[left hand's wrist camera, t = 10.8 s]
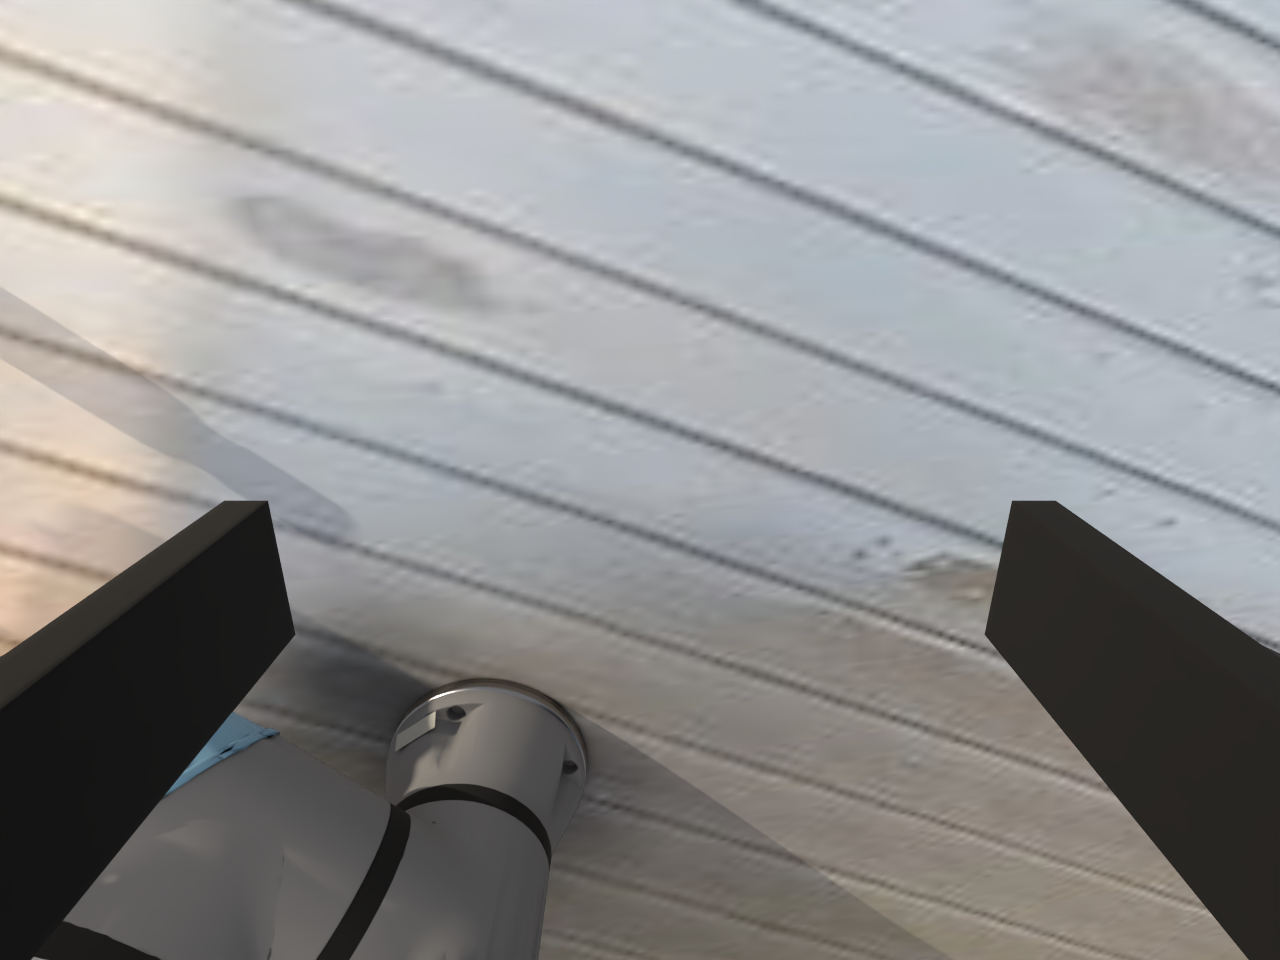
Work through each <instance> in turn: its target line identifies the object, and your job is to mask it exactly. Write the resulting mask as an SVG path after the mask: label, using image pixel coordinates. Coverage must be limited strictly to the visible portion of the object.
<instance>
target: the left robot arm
mask: <svg viewBox="0 0 1280 960" xmlns="http://www.w3.org/2000/svg"><path fill="white" fill-rule="evenodd" d="M294 635H295V631H294V626H293V621H292V616H291V611H290V606H289V602H288V597H287V592H286V587H285V582H284V577H283V572H282V567H281V563H280V558H279V553H278V548H277V543H276V538H275V533H274V528H273V523H272V519H271V514H270V509H269V504H268V501H223V502H222V503H221V504H219V505H218V506H216V507H215V508H213V509H212V510H211V511H209V512H208V513H206V514H205V515H203V516H202V517H201V518H199V519H198V520H196V521H195V522H193V523H192V524H191V525H189V526H188V527H186V528H185V529H183V530H182V531H181V532H179V533H178V534H176V535H175V536H173V537H172V538H171V539H169V540H168V541H166V542H165V543H163V544H162V545H161V546H159V547H158V548H156V549H155V550H153V551H152V552H151V553H149V554H148V555H146V556H145V557H143V558H142V559H141V560H139V561H138V562H136V563H135V564H133V565H132V566H131V567H129V568H128V569H126V570H125V571H123V572H122V573H121V574H119V575H118V576H116V577H115V578H113V579H112V580H111V581H109V582H108V583H106V584H105V585H103V586H102V587H101V588H99V589H98V590H96V591H95V592H93V593H92V594H91V595H89V596H88V597H86V598H85V599H83V600H82V601H81V602H79V603H78V604H76V605H75V606H73V607H72V608H71V609H69V610H68V611H66V612H65V613H63V614H62V615H61V616H59V617H58V618H56V619H55V620H53V621H52V622H51V623H49V624H48V625H46V626H45V627H43V628H42V629H41V630H39V631H38V632H36V633H35V634H33V635H32V636H31V637H29V638H28V639H26V640H25V641H23V642H22V643H21V644H19V645H18V646H16V647H15V648H13V649H12V650H11V651H9V652H8V653H6V654H5V655H3V656H1V657H0V960H538V956H539V949H540V941H541V933H542V925H543V917H544V910H545V902H546V894H547V886H548V878H549V870H550V863H551V856H552V854H553V852H554V850H555V848H556V847H557V845H558V843H559V841H560V839H561V837H562V836H563V834H564V832H565V830H566V828H567V826H568V825H569V823H570V821H571V819H572V817H573V815H574V813H575V812H576V810H577V808H578V805H579V803H580V800H581V797H582V794H583V791H584V787H585V780H586V770H587V753H586V748H585V744H584V741H583V738H582V735H581V733H580V731H579V730H578V728H577V726H576V725H575V723H574V722H573V720H572V719H571V718H570V717H569V715H568V714H567V713H566V712H565V711H564V710H563V709H562V708H561V707H560V706H558V705H557V704H556V703H555V702H553V701H552V700H551V699H549V698H548V697H546V696H544V695H542V694H541V693H539V692H537V691H535V690H533V689H530V688H528V687H525V686H522V685H519V684H516V683H512V682H507V681H502V680H493V679H473V680H465V681H459V682H455V683H451V684H448V685H445V686H442V687H440V688H437V689H435V690H433V691H431V692H430V693H428V694H426V695H425V696H423V697H422V698H421V699H419V700H418V701H417V702H416V703H415V704H413V705H412V706H411V708H410V709H409V710H408V711H407V712H406V714H405V715H404V717H403V718H402V720H401V722H400V724H399V726H398V728H397V730H396V732H395V734H394V736H393V739H392V741H391V744H390V748H389V752H388V757H387V762H386V790H385V799H384V798H382V797H380V796H379V795H377V794H375V793H374V792H372V791H370V790H369V789H367V788H365V787H363V786H362V785H360V784H358V783H357V782H355V781H353V780H352V779H350V778H348V777H347V776H345V775H343V774H342V773H340V772H338V771H337V770H335V769H333V768H332V767H330V766H329V765H327V764H325V763H324V762H322V761H320V760H319V759H317V758H315V757H314V756H312V755H311V754H309V753H307V752H306V751H304V750H302V749H301V748H299V747H297V746H296V745H294V744H292V743H291V742H289V741H288V740H286V739H284V738H283V737H281V736H279V731H277V730H276V729H271V728H267V729H266V728H263V727H261V726H259V725H257V724H255V723H253V722H251V721H250V720H248V719H246V718H244V717H242V716H240V715H238V714H236V713H234V712H233V711H234V709H235V708H236V707H237V706H238V704H239V703H240V702H241V701H242V699H243V698H244V697H245V696H246V695H247V693H248V692H249V691H250V690H251V688H252V687H253V686H254V685H255V683H256V682H257V681H258V680H259V679H260V677H261V676H262V675H263V674H264V672H265V671H266V670H267V669H268V667H269V666H270V665H271V664H272V663H273V661H274V660H275V659H276V658H277V656H278V655H279V654H280V653H281V651H282V650H283V649H284V648H285V647H286V645H287V644H288V643H289V642H290V640H291V639H292V638H293V637H294ZM985 635H986V637H987V638H988V639H989V640H990V642H991V643H992V644H993V645H994V647H995V648H996V649H997V650H998V651H999V653H1000V654H1001V655H1002V656H1003V658H1004V659H1005V660H1006V661H1007V663H1008V664H1009V665H1010V666H1011V667H1012V669H1013V670H1014V671H1015V672H1016V674H1017V675H1018V676H1019V677H1020V679H1021V680H1022V681H1023V682H1024V683H1025V685H1026V686H1027V687H1028V688H1029V690H1030V691H1031V692H1032V693H1033V695H1034V696H1035V697H1036V698H1037V699H1038V701H1039V702H1040V703H1041V704H1042V706H1043V707H1044V708H1045V709H1046V711H1047V712H1048V713H1049V714H1050V715H1051V717H1052V718H1053V719H1054V720H1055V722H1056V723H1057V724H1058V725H1059V727H1060V728H1061V729H1062V730H1063V731H1064V733H1065V734H1066V735H1067V736H1068V738H1069V739H1070V740H1071V741H1072V743H1073V744H1074V745H1075V746H1076V748H1077V749H1078V750H1079V751H1080V752H1081V754H1082V755H1083V756H1084V757H1085V759H1086V760H1087V761H1088V762H1089V764H1090V765H1091V766H1092V767H1093V768H1094V770H1095V771H1096V772H1097V773H1098V775H1099V776H1100V777H1101V778H1102V780H1103V781H1104V782H1105V783H1106V784H1107V786H1108V787H1109V788H1110V789H1111V791H1112V792H1113V793H1114V794H1115V796H1116V797H1117V798H1118V799H1119V800H1120V802H1121V803H1122V804H1123V805H1124V807H1125V808H1126V809H1127V810H1128V812H1129V813H1130V814H1131V815H1132V816H1133V818H1134V819H1135V820H1136V821H1137V823H1138V824H1139V825H1140V826H1141V828H1142V829H1143V830H1144V831H1145V832H1146V834H1147V835H1148V836H1149V837H1150V839H1151V840H1152V841H1153V842H1154V844H1155V845H1156V846H1157V847H1158V848H1159V850H1160V851H1161V852H1162V853H1163V855H1164V856H1165V857H1166V858H1167V860H1168V861H1169V862H1170V863H1171V865H1172V866H1173V867H1174V868H1175V869H1176V871H1177V872H1178V873H1179V874H1180V876H1181V877H1182V878H1183V879H1184V881H1185V882H1186V883H1187V884H1188V885H1189V887H1190V888H1191V889H1192V890H1193V892H1194V893H1195V894H1196V895H1197V897H1198V898H1199V899H1200V900H1201V901H1202V903H1203V904H1204V905H1205V906H1206V908H1207V909H1208V910H1209V911H1210V913H1211V914H1212V915H1213V916H1214V917H1215V919H1216V920H1217V921H1218V922H1219V924H1220V925H1221V926H1222V927H1223V929H1224V930H1225V931H1226V932H1227V933H1228V935H1229V936H1230V937H1231V938H1232V940H1233V941H1234V942H1235V943H1236V945H1237V946H1238V947H1239V948H1240V949H1241V951H1242V952H1243V953H1244V954H1245V956H1246V957H1247V958H1248V959H1249V960H1280V653H1277V652H1275V651H1273V650H1271V649H1269V648H1267V647H1265V646H1263V645H1261V644H1259V643H1258V642H1257V641H1255V640H1254V639H1252V638H1251V637H1249V636H1248V635H1247V634H1245V633H1244V632H1242V631H1241V630H1239V629H1238V628H1237V627H1235V626H1234V625H1232V624H1231V623H1229V622H1228V621H1227V620H1225V619H1224V618H1222V617H1221V616H1219V615H1218V614H1217V613H1215V612H1214V611H1212V610H1211V609H1209V608H1208V607H1207V606H1205V605H1204V604H1202V603H1201V602H1199V601H1198V600H1197V599H1195V598H1194V597H1192V596H1191V595H1189V594H1188V593H1187V592H1185V591H1184V590H1182V589H1181V588H1179V587H1178V586H1177V585H1175V584H1174V583H1172V582H1171V581H1169V580H1168V579H1167V578H1165V577H1164V576H1162V575H1161V574H1159V573H1158V572H1157V571H1155V570H1154V569H1152V568H1151V567H1149V566H1148V565H1147V564H1145V563H1144V562H1142V561H1141V560H1139V559H1138V558H1137V557H1135V556H1134V555H1132V554H1131V553H1129V552H1128V551H1127V550H1125V549H1124V548H1122V547H1121V546H1119V545H1118V544H1117V543H1115V542H1114V541H1112V540H1111V539H1109V538H1108V537H1107V536H1105V535H1104V534H1102V533H1101V532H1099V531H1098V530H1097V529H1095V528H1094V527H1092V526H1091V525H1089V524H1088V523H1087V522H1085V521H1084V520H1082V519H1081V518H1079V517H1078V516H1077V515H1075V514H1074V513H1072V512H1071V511H1069V510H1068V509H1067V508H1065V507H1064V506H1062V505H1061V504H1059V503H1058V502H1057V501H1012V504H1011V509H1010V514H1009V519H1008V523H1007V528H1006V533H1005V538H1004V543H1003V548H1002V553H1001V558H1000V563H999V567H998V572H997V577H996V582H995V587H994V592H993V597H992V602H991V606H990V611H989V616H988V621H987V626H986V631H985Z"/></svg>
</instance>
